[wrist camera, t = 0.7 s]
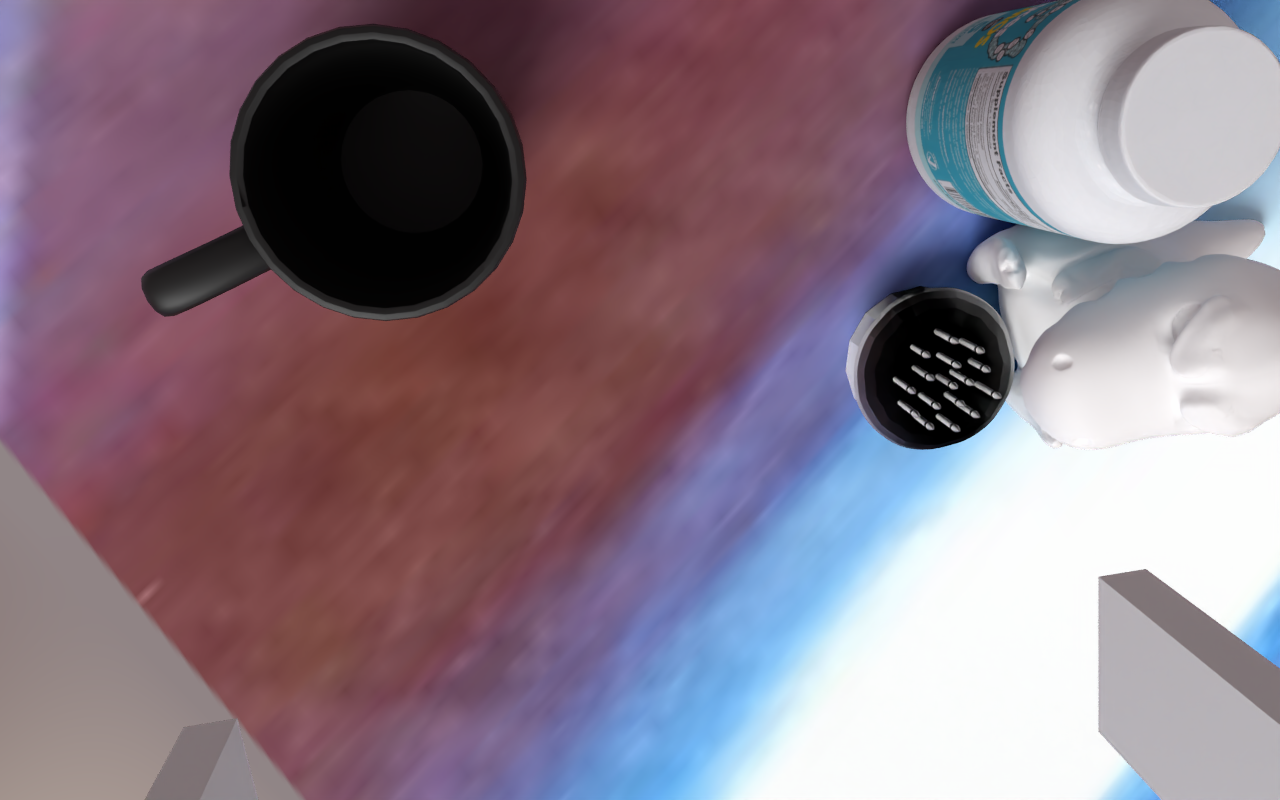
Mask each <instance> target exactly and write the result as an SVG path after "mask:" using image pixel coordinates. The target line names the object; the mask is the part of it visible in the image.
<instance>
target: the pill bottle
mask: <svg viewBox="0 0 1280 800" xmlns="http://www.w3.org/2000/svg"><path fill="white" fill-rule="evenodd" d="M906 131H907V139H908V145H909V149H910V152H911V156H912V158H913V161H914V163H915V165H916V167H917V169H918V171H919V173H920V175H921V176H922V178H923V179H924V181H925V182H926V183H927V185H928V186H929V187H930V188H931V189H932V190H933V191H934V192H935V193H936V194H937V195H938V196H939V197H941V198H942V199H943V200H945V201H946V202H948V203H950V204H951V205H953V206H955V207H957V208H959V209H961V210H964V211H967V212H970V213H973V214H977V215H981V216H984V217H989V218H993V219H998V220H1002V221H1007V222H1011V223H1016V224H1020V225H1024V226H1029V227H1033V228H1037V229H1041V230H1045V231H1050V232H1054V233H1058V234H1062V235H1066V236H1070V237H1075V238H1079V239H1084V240H1089V241H1094V242H1098V243H1106V244H1128V243H1137V242H1142V241H1147V240H1151V239H1154V238H1158V237H1161V236H1164V235H1166V234H1169V233H1171V232H1174V231H1176V230H1178V229H1180V228H1182V227H1183V226H1185V225H1187V224H1189V223H1190V222H1192V221H1194V220H1195V219H1197V218H1198V217H1199V216H1201V215H1202V214H1203V213H1204V212H1206V211H1207V210H1208V209H1209V208H1210V207H1211V206H1213V205H1216V204H1219V203H1221V202H1224V201H1227V200H1229V199H1231V198H1232V197H1234V196H1236V195H1238V194H1240V193H1241V192H1243V191H1244V190H1245V189H1247V188H1248V187H1249V186H1251V185H1252V184H1253V183H1254V182H1255V181H1256V180H1257V179H1258V178H1259V177H1260V176H1261V175H1262V174H1263V173H1264V172H1265V170H1266V169H1267V168H1268V166H1269V165H1270V163H1271V162H1272V161H1273V159H1274V157H1275V156H1276V154H1277V152H1278V150H1279V148H1280V63H1279V61H1278V59H1277V58H1276V56H1275V55H1274V54H1273V52H1272V51H1271V50H1270V49H1269V48H1268V47H1267V46H1266V45H1265V44H1264V43H1263V42H1262V41H1261V40H1259V39H1258V38H1257V37H1255V36H1254V35H1252V34H1250V33H1248V32H1246V31H1244V30H1241V29H1239V28H1238V27H1237V25H1236V24H1235V23H1234V22H1233V21H1232V20H1231V18H1230V17H1229V16H1228V15H1227V14H1226V13H1225V12H1224V11H1223V10H1221V9H1220V8H1219V7H1217V6H1216V5H1215V4H1213V3H1212V2H1211V1H1209V0H1058V1H1053V2H1049V3H1044V4H1040V5H1035V6H1030V7H1025V8H1020V9H1015V10H1011V11H1006V12H1001V13H997V14H993V15H988V16H985V17H982V18H979V19H977V20H974V21H972V22H970V23H968V24H966V25H964V26H963V27H961V28H959V29H957V30H956V31H955V32H953V33H952V34H951V35H949V36H948V37H947V38H946V39H945V40H943V41H942V42H941V43H940V44H939V45H938V46H937V47H936V48H935V50H934V51H933V52H932V53H931V54H930V56H929V57H928V59H927V60H926V61H925V63H924V65H923V66H922V68H921V70H920V71H919V73H918V75H917V77H916V80H915V82H914V85H913V88H912V90H911V93H910V98H909V102H908V107H907V117H906Z"/></svg>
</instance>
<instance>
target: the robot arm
mask: <svg viewBox="0 0 1280 800" xmlns="http://www.w3.org/2000/svg"><path fill="white" fill-rule="evenodd" d="M1099 732H1100V734H1101V735H1102V736H1103V737H1104V738H1105V739H1106V740H1107V741H1108V742H1109V743H1110V744H1111V745H1112V747H1113V748H1114V749H1115V750H1116V751H1117V752H1118V753H1119V754H1120V755H1121V756H1122V757H1123V758H1124V760H1125V761H1126V762H1127V763H1128V764H1129V765H1130V766H1131V767H1132V768H1133V769H1134V770H1135V771H1136V773H1137V774H1138V775H1139V776H1140V777H1141V778H1142V779H1143V780H1144V781H1145V782H1146V783H1147V784H1148V786H1149V787H1150V788H1151V789H1152V790H1153V791H1154V792H1155V793H1156V794H1157V795H1158V796H1159V797H1160V799H1161V800H1280V668H1278V667H1277V666H1276V665H1274V664H1273V663H1272V662H1270V661H1269V660H1267V659H1266V658H1265V657H1263V656H1262V655H1261V654H1259V653H1258V652H1257V651H1255V650H1254V649H1253V648H1251V647H1250V646H1249V645H1247V644H1246V643H1245V642H1243V641H1242V640H1241V639H1239V638H1238V637H1237V636H1235V635H1234V634H1232V633H1231V632H1230V631H1228V630H1227V629H1226V628H1224V627H1223V626H1222V625H1220V624H1219V623H1218V622H1216V621H1215V620H1214V619H1212V618H1211V617H1210V616H1208V615H1207V614H1206V613H1204V612H1203V611H1201V610H1200V609H1199V608H1197V607H1196V606H1195V605H1193V604H1192V603H1191V602H1189V601H1188V600H1187V599H1185V598H1184V597H1183V596H1181V595H1180V594H1179V593H1177V592H1176V591H1175V590H1173V589H1172V588H1171V587H1169V586H1168V585H1166V584H1165V583H1164V582H1162V581H1161V580H1160V579H1158V578H1157V577H1156V576H1154V575H1153V574H1152V573H1150V572H1149V571H1148V570H1146V569H1144V570H1138V571H1132V572H1125V573H1119V574H1113V575H1107V576H1101V577H1099ZM145 800H258V796H257V793H256V789H255V785H254V781H253V777H252V773H251V770H250V766H249V762H248V758H247V754H246V750H245V746H244V742H243V739H242V735H241V731H240V727H239V723H238V719H231V720H224V721H219V722H212V723H206V724H200V725H195V726H188V727H184V728H183V730H182V732H181V733H180V735H179V737H178V739H177V741H176V743H175V745H174V746H173V748H172V751H171V752H170V754H169V756H168V757H167V760H166V761H165V763H164V765H163V767H162V769H161V770H160V772H159V774H158V776H157V778H156V780H155V782H154V783H153V786H152V787H151V789H150V791H149V793H148V795H147V797H146V798H145Z"/></svg>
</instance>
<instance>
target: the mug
mask: <svg viewBox="0 0 1280 800" xmlns="http://www.w3.org/2000/svg"><path fill="white" fill-rule="evenodd" d="M230 180H231V186H232V191H233V196H234V201H235V206H236V210H237V212H238V215H239V217H240V219H241V222H242V224H243V226H241V227H239V228H237V229H235V230H233V231H231V232H229V233H227V234H225V235H223V236H220V237H218V238H216V239H214V240H212V241H210V242H208V243H206V244H204V245H201V246H199V247H197V248H195V249H193V250H191V251H188V252H186V253H184V254H182V255H180V256H178V257H176V258H173V259H171V260H169V261H167V262H165V263H163V264H161V265H159V266H156V267H154V268H152V269H150V270H148V271H147V272H146V273H145V274H144V275H143V276H142V278H141V282H142V290H143V292H144V295H145V297H146V299H147V301H148V302H149V304H150V305H151V306H152V307H153V309H154V310H155V311H156V312H158V313H159V314H161V315H163V316H164V317H166V316H175V315H178V314H180V313H182V312H185V311H187V310H189V309H191V308H193V307H196V306H198V305H200V304H202V303H204V302H206V301H208V300H210V299H212V298H214V297H216V296H218V295H221V294H223V293H225V292H227V291H229V290H231V289H233V288H235V287H237V286H239V285H241V284H243V283H245V282H247V281H249V280H251V279H253V278H255V277H257V276H259V275H261V274H263V273H265V272H267V271H269V270H272V271H274V272H275V273H276V274H277V275H278V276H279V277H280V278H281V279H282V280H283V281H285V282H286V283H287V284H288V285H289V286H290V287H291V288H292V289H293V290H295V291H296V292H298V293H300V294H301V295H303V296H305V297H307V298H308V299H310V300H312V301H313V302H315V303H317V304H319V305H320V306H322V307H324V308H327V309H330V310H333V311H336V312H339V313H342V314H345V315H348V316H351V317H355V318H364V319H373V320H383V321H390V320H399V319H408V318H417V317H421V316H424V315H426V314H429V313H432V312H435V311H438V310H441V309H444V308H447V307H449V306H450V305H452V304H454V303H455V302H457V301H458V300H460V299H462V298H463V297H465V296H467V295H468V294H470V293H471V292H473V291H474V290H475V289H476V288H477V287H478V286H479V285H480V284H481V283H482V282H483V281H484V280H485V279H486V278H487V277H488V276H489V275H490V274H491V273H492V272H493V271H494V270H495V269H496V268H497V267H498V265H499V263H500V262H501V260H502V259H503V257H504V255H505V254H506V252H507V251H508V249H509V247H510V246H511V244H512V243H513V240H514V237H515V234H516V231H517V228H518V225H519V222H520V219H521V217H522V214H523V208H524V198H525V189H526V169H525V161H524V153H523V145H522V142H521V139H520V136H519V133H518V130H517V127H516V125H515V122H514V119H513V116H512V114H511V112H510V111H509V109H508V107H507V106H506V104H505V102H504V101H503V99H502V98H501V96H500V94H499V93H498V91H497V89H496V88H495V87H494V86H493V85H492V83H491V82H490V81H489V80H488V79H487V78H486V77H485V76H484V75H483V74H482V73H481V72H480V71H479V70H478V69H477V68H476V67H475V66H474V65H473V64H472V63H471V62H470V61H469V60H467V59H466V58H464V57H463V56H461V55H460V54H458V53H457V52H455V51H454V50H452V49H451V48H449V47H448V46H446V45H445V44H443V43H442V42H440V41H438V40H435V39H433V38H430V37H428V36H425V35H422V34H420V33H417V32H415V31H412V30H409V29H405V28H398V27H391V26H385V25H378V24H367V25H356V26H344V27H338V28H335V29H332V30H329V31H326V32H323V33H320V34H317V35H314V36H311V37H308V38H306V39H305V40H303V41H302V42H300V43H298V44H297V45H295V46H294V47H292V48H291V49H289V50H288V51H286V52H284V53H283V54H281V55H280V56H278V58H277V59H276V60H275V61H274V62H273V63H272V64H271V65H270V66H269V67H268V68H267V69H266V70H265V71H264V72H263V73H262V75H261V76H260V77H259V78H258V79H257V80H256V81H255V83H254V85H253V87H252V88H251V90H250V92H249V94H248V96H247V97H246V99H245V101H244V103H243V105H242V106H241V108H240V110H239V114H238V118H237V121H236V125H235V128H234V132H233V136H232V139H231V149H230Z"/></svg>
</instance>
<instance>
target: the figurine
mask: <svg viewBox="0 0 1280 800" xmlns="http://www.w3.org/2000/svg"><path fill="white" fill-rule="evenodd" d="M1264 236H1265V230H1264V225H1263V224H1262V223H1260V222H1259V221H1256V220H1251V219H1240V220H1223V221H1192V222H1190V223H1189V224H1187V225H1185V226H1183V227H1182V228H1180V229H1178V230H1176V231H1174V232H1171V233H1169V234H1166V235H1164V236H1161V237H1158V238H1154V239H1151V240H1147V241H1142V242H1137V243H1128V244H1106V243H1098V242H1094V241H1089V240H1084V239H1079V238H1075V237H1070V236H1066V235H1062V234H1058V233H1054V232H1050V231H1045V230H1041V229H1037V228H1033V227H1029V226H1024V225H1020V224H1017V225H1015V226H1013V227H1011V228H1009V229H1006V230H1003V231H1000V232H998V233H996V234H994V235H992V236H991V237H989V238H988V239H986V240H985V241H983V242H982V243H980V244H979V245H978V246H977V247H976V248H975V249H974V251H973V252H972V254H971V256H970V258H969V260H968V262H967V273H968V275H969V277H970V278H971V279H972V280H973V281H975V282H976V283H978V284H988V283H994V284H997V286H998V295H999V307H1000V312H1001V317H1002V318H1001V317H1000V315H999V314H998V313H997V312H996V310H995V309H994V308H993V307H992V306H991V305H989V304H988V303H987V302H986V301H984V300H983V299H981V298H979V297H978V296H976V295H974V294H971V293H969V292H966V291H964V290H960V289H956V288H928V287H922V286H919V287H915V288H912V289H908V290H904V291H900V292H896V293H892V294H890V295H889V296H887V297H886V298H885V299H883V300H882V301H881V302H879V303H878V304H877V305H876V306H874V307H873V308H872V309H870V310H869V311H868V312H866V313H865V315H864V317H863V318H862V320H861V322H860V323H859V325H858V327H857V329H856V330H855V332H854V334H853V335H852V337H851V339H850V341H849V349H848V357H847V364H846V373H847V376H848V380H849V383H850V386H851V389H852V393H853V396H854V398H855V399H856V401H857V403H858V405H859V408H860V410H861V412H862V414H863V415H864V417H865V418H866V420H867V421H868V422H869V424H870V425H871V426H872V427H873V428H874V429H875V430H876V431H877V432H878V433H880V434H881V435H882V436H884V437H885V438H886V439H888V440H890V441H891V442H893V443H895V444H897V445H899V446H903V447H906V448H911V449H922V450H923V449H935V448H941V447H944V446H948V445H952V444H956V443H959V442H961V441H964V440H966V439H968V438H970V437H972V436H974V435H975V434H977V433H978V432H980V431H981V430H982V429H983V428H985V427H986V426H987V425H988V424H989V423H990V422H991V421H992V420H993V419H994V417H995V416H996V415H997V413H998V412H999V410H1000V408H1001V407H1002V405H1003V404H1004V402H1005V401H1006V402H1007V403H1008V405H1009V406H1010V407H1011V408H1012V409H1013V410H1014V411H1015V412H1016V413H1017V414H1018V415H1019V416H1020V417H1021V418H1022V419H1023V420H1025V421H1026V422H1027V423H1029V424H1030V425H1031V426H1032V427H1033V428H1034V429H1035V430H1036V431H1037V433H1038V435H1039V436H1040V438H1041V439H1042V440H1043V441H1044V442H1045V443H1046V444H1047V445H1048V446H1050V447H1052V448H1060V447H1061V446H1062V444H1065V445H1067V446H1070V447H1073V448H1077V449H1084V450H1097V449H1105V448H1110V447H1114V446H1118V445H1122V444H1126V443H1130V442H1134V441H1138V440H1143V439H1148V438H1155V437H1164V436H1176V435H1193V434H1206V433H1211V434H1214V435H1219V436H1227V437H1235V436H1239V435H1242V434H1246V433H1248V432H1250V431H1252V430H1254V429H1255V428H1257V427H1258V426H1259V425H1261V424H1262V423H1264V422H1265V421H1267V420H1269V419H1271V418H1273V417H1275V416H1276V415H1278V414H1279V413H1280V270H1278V269H1276V268H1274V267H1271V266H1269V265H1266V264H1263V263H1260V262H1257V261H1253V260H1249V259H1247V258H1248V257H1249V256H1250V255H1251V254H1252V253H1253V252H1254V251H1255V250H1256V249H1257V248H1258V246H1259V245H1260V244H1261V242H1262V241H1263V239H1264ZM1014 357H1015V359H1016V360H1017V363H1018V368H1017V370H1016V371H1015V372H1014V368H1015V363H1014Z"/></svg>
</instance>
